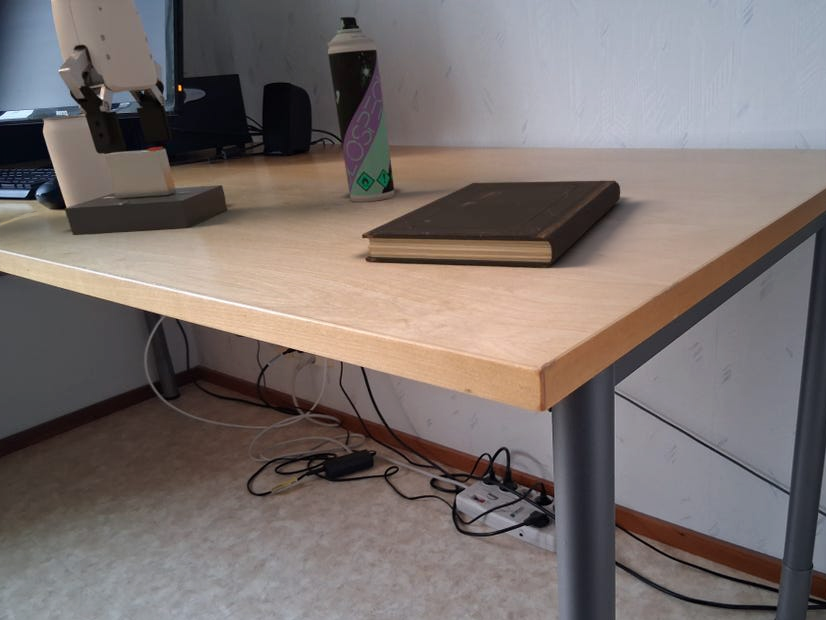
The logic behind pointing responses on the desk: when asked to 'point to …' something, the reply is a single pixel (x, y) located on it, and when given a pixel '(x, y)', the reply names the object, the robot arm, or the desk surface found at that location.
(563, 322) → the desk surface
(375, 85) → the spray can
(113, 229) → the dark grey base plate
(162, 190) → the white rectangular block
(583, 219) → the hardcover book
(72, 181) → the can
